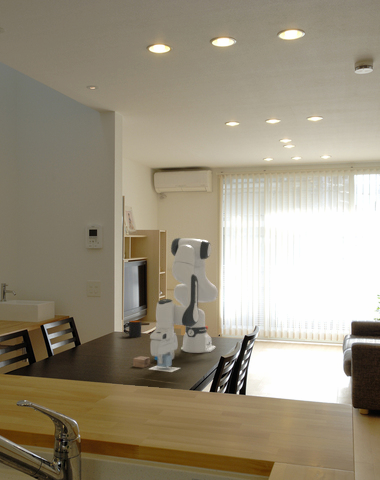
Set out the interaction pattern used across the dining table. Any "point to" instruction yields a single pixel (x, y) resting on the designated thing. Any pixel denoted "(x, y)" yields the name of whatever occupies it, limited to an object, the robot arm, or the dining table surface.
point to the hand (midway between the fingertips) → (164, 362)
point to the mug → (134, 328)
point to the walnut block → (141, 362)
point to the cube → (165, 361)
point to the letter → (164, 368)
